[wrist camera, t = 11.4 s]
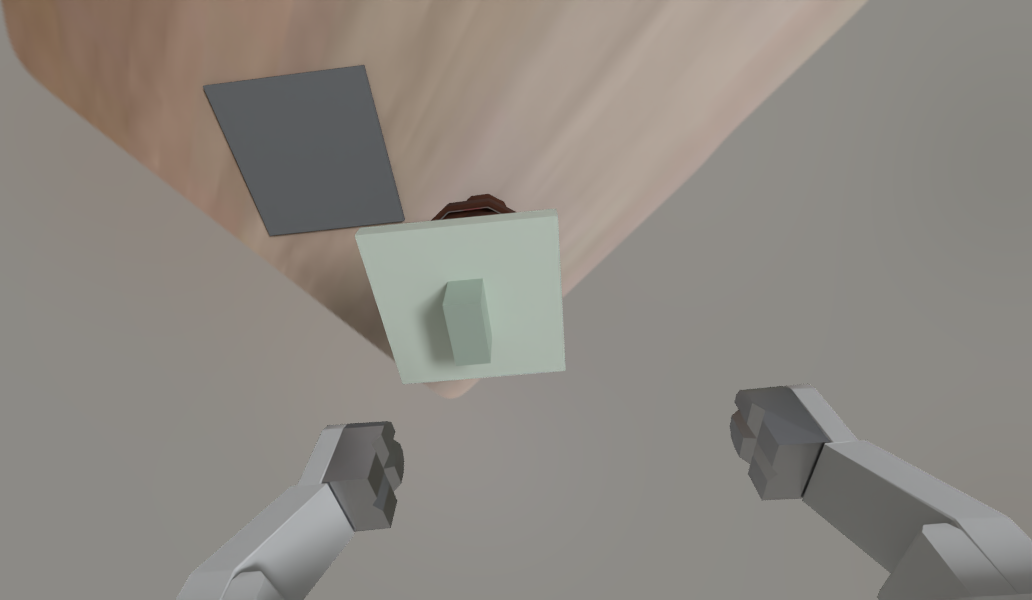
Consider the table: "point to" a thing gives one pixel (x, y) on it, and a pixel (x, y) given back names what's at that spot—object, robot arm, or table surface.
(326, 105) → the mat
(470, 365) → the lid
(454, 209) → the ice cream bowl
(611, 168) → the table surface
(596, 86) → the table surface
